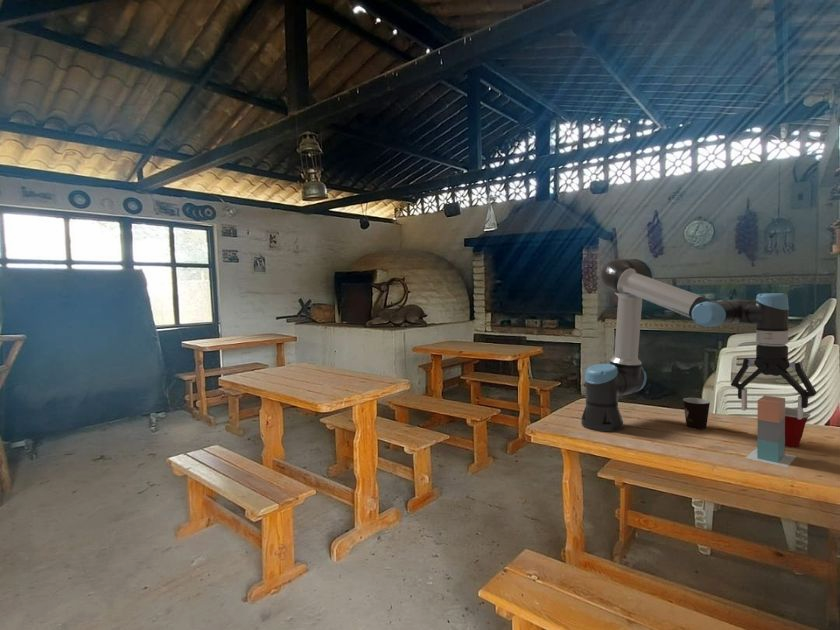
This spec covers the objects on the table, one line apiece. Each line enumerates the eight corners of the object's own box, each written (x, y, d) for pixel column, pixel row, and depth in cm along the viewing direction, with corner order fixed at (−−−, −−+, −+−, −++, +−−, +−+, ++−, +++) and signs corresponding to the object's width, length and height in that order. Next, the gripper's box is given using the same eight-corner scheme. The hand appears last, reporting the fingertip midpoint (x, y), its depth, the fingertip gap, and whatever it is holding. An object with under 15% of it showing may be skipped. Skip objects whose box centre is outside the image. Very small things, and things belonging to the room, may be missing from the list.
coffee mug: (710, 431, 161) (710, 404, 160) (682, 428, 165) (682, 402, 165) (709, 423, 171) (709, 397, 170) (683, 420, 175) (683, 395, 175)
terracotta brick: (757, 419, 133) (757, 400, 133) (764, 414, 138) (764, 395, 138) (778, 423, 129) (778, 403, 129) (785, 417, 134) (785, 398, 134)
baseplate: (745, 459, 135) (745, 457, 135) (756, 449, 142) (756, 447, 142) (786, 469, 127) (786, 467, 127) (796, 458, 135) (796, 456, 134)
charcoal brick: (757, 439, 134) (757, 419, 133) (764, 432, 139) (764, 414, 138) (778, 443, 130) (778, 423, 129) (784, 436, 135) (785, 417, 134)
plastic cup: (811, 454, 137) (812, 416, 136) (767, 447, 144) (767, 411, 143) (809, 444, 145) (809, 408, 145) (767, 438, 152) (767, 404, 152)
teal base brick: (757, 458, 134) (757, 439, 134) (764, 451, 139) (764, 432, 139) (778, 463, 130) (778, 443, 130) (784, 455, 135) (784, 436, 135)
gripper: (719, 342, 140) (719, 408, 141) (825, 349, 121) (824, 425, 122) (727, 340, 145) (727, 404, 146) (830, 346, 125) (828, 419, 127)
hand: (771, 413), depth 134 cm, fingers open, 13 cm apart
